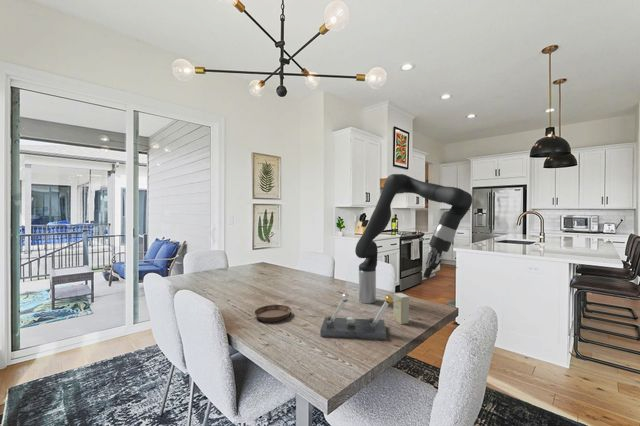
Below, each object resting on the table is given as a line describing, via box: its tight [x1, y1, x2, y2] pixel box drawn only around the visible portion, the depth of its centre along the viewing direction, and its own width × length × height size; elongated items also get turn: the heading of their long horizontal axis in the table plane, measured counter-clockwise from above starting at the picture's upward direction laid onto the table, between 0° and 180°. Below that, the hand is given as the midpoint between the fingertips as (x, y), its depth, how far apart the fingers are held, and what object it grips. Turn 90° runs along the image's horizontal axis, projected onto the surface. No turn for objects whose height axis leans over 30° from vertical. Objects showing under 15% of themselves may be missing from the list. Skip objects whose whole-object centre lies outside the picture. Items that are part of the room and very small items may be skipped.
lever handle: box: [372, 294, 394, 326], centre depth 122 cm, size 4×3×14 cm
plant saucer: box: [253, 304, 292, 323], centre depth 142 cm, size 18×18×3 cm
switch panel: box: [319, 315, 387, 341], centre depth 124 cm, size 14×26×4 cm, turn 81°
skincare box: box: [392, 292, 410, 325], centre depth 134 cm, size 6×4×12 cm
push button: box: [346, 316, 356, 325], centre depth 124 cm, size 4×4×2 cm
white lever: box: [330, 292, 350, 323], centre depth 125 cm, size 4×3×14 cm
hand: (425, 277), depth 119 cm, fingers closed
